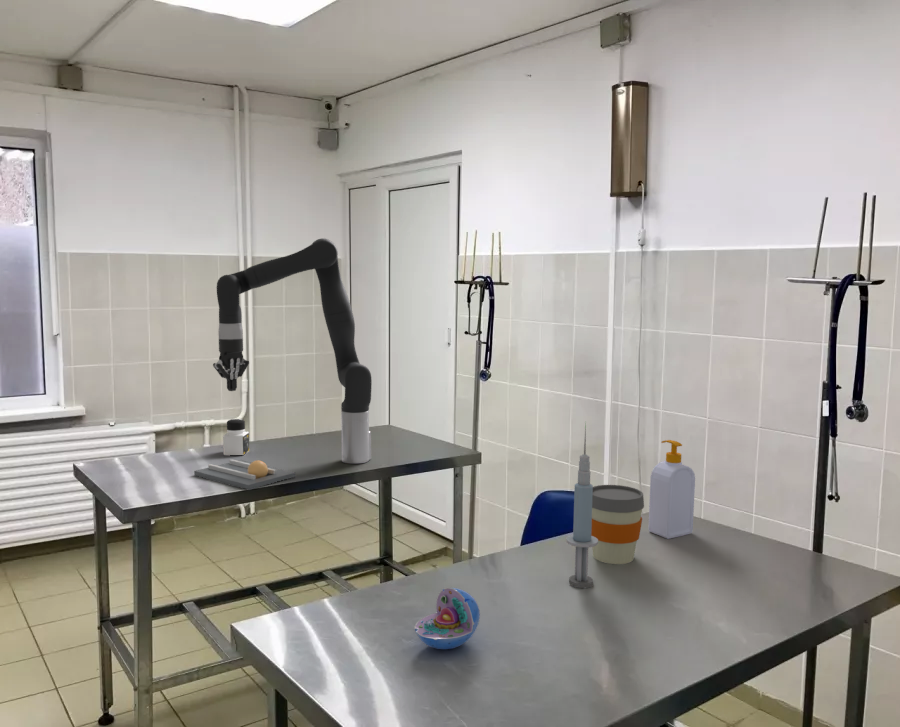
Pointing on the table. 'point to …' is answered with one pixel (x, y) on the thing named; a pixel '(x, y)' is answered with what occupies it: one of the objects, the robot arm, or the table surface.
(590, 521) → the syringe
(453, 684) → the table surface
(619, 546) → the reusable coffee cup
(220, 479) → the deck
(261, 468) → the ball
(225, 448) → the medicine bottle
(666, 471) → the soap bottle
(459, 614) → the cell model
